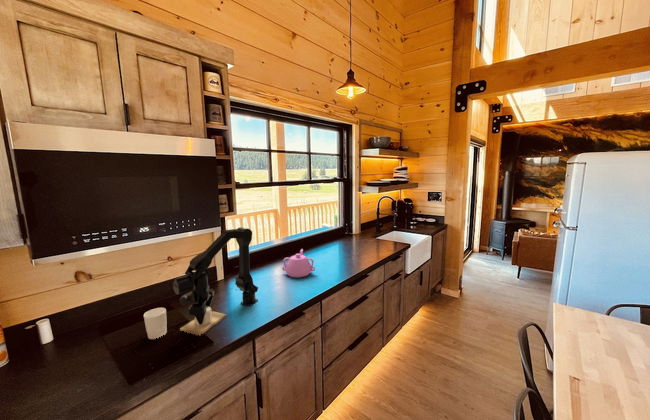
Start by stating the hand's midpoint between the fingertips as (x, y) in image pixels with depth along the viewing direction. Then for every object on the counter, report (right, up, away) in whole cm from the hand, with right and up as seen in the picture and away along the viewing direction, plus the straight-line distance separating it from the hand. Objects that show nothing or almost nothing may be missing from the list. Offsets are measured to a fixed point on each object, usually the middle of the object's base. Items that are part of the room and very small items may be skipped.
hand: (203, 318), depth 119 cm
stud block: (0, -2, 0) cm, 2 cm away
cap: (0, -1, 0) cm, 1 cm away
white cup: (-16, -4, -7) cm, 18 cm away
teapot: (+37, +7, +58) cm, 70 cm away
